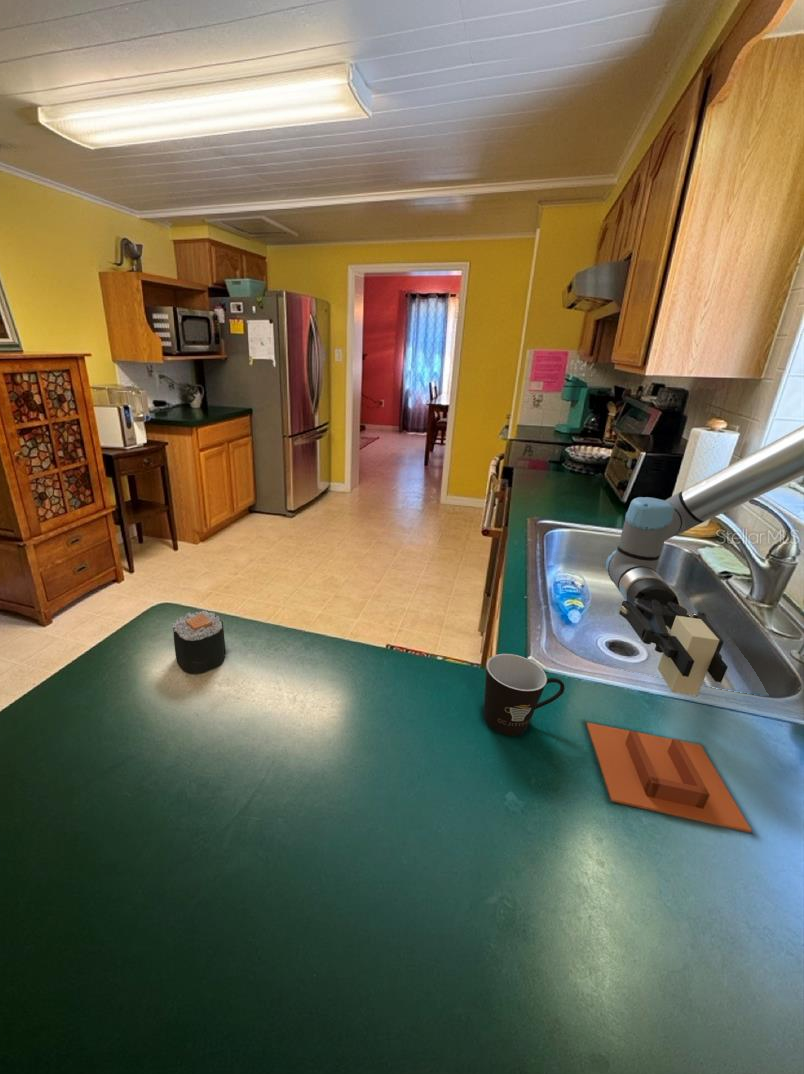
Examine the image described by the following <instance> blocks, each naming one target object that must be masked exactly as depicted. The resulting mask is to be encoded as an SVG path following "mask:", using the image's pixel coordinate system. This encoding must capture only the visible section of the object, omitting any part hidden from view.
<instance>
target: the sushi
mask: <svg viewBox="0 0 804 1074" xmlns="http://www.w3.org/2000/svg"><path fill="white" fill-rule="evenodd" d="M171 627H172V633H173V645H174V653H175V661H176V664H177V666H179V667H180V669H181V670H182V671H183V672H184V673H186V674H189V675H200V674H205V673H207V672H210V671H211V670H214V669H216V668H219V666H221V665H222V664H223V663H224V662H225V656H226V655H227V653H226V652H227V651H226V644H225V643H226V642H225V630H224V629H225V628H224V622H223V620H221V618H220V617H219V614H218V615H215V613H214V612H209V611H206V610H202V611H199V612H198V611H195V613H194V612H192V613H191V612H187V613H185V616H183V615H181V616H180V617H178V619H177V618H176V619H175V621H174V622H173V623H171Z"/></svg>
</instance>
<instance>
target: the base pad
mask: <svg viewBox="0 0 804 1074" xmlns="http://www.w3.org/2000/svg"><path fill="white" fill-rule="evenodd" d="M586 726H587V729H588V733H589V736H590V740H591V742H592V745H593V748H594V752H595V756H596V758H597V762H598V764H599V768H600V771H601V774H602V777H603V780H604V783H605V786H606V791H607V793H608V796H609V799H610V801H611V802H612V803H618V804H622V805H627V806H631V807H635V808H639V809H644V810H648V811H652V812H657V813H661V814H666V815H671V816H675V817H680V818H683V819H689V820H693V821H698V822H702V823H707V824H710V825H714V826H720V827H724V828H728V829H732V830H737V831H742V832H746V833H752V828H751V826H750V825H749V823H748V822H747V820H746V819H745V816H744V815H743V813H742V812H741V810H740V809H739V806H738V805H737V803H736V801H735V799H734V798H733V796H732V795H731V793H730V791H729V790H728V788H727V786H726V785H725V783H724V782H723V780H722V778H721V777H720V776H721V775H720V774H719V773H718V771H717V769H716V767H715V766H714V764H713V763H712V761H711V760H710V758H709V756H708V755H707V753H706V751H705V749H704V748H703V746H702V744H698V743H693V742H688V741H684V740H680V739H677V738H668V737H663V736H659V735H652V734H648V733H643V732H638V731H637V730H627V729H623V728H619V727H618V728H617V727H612V726H608V725H603V724H597V723H592V722H586Z"/></svg>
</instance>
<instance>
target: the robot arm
mask: <svg viewBox="0 0 804 1074" xmlns="http://www.w3.org/2000/svg"><path fill="white" fill-rule="evenodd" d="M803 476H804V425H801V426H800V427H798V428H796V429H794V430H793V431H791V432H789V433H787V434H785V435H783V436H781V437H779V438H778V439H776V440H773V441H772V442H771V443H769V444H767V445H764V446H763V447H761V448H759V449H757V450H756V451H754V452H751V453H750V454H747V455H746V456H744V457H742V458H740V459H739V460H736V461H734V463H731V464H730V465H728V466H726V467H724V468H722V469H720V470H718V471H717V472H714V473H713V474H711V475H708V476H707V477H706V478H704V479H702V480H699V481H698V482H696V483H694V484H692V485H690V486H688V487H687V488H685V489H683V490H681V491H679V492H678V493H676V494H674V495H671V496H670V497H668V498H667V499H661V498H656V497H651V496H650V497H649V496H645V497H643V496H638V497H635V498H633V499H632V500H631V501H630V504H629V507H628V509H627V511H626V512H625V519H624V523H623V527H622V530H621V534H620V537H619V541H618V545H617V548H616V549H615V550H614V551H612V553H610V554H609V555H608V557H607V559H606V560H605V561H606V562H605V568H606V571H607V573H608V574H607V575H608V576H609V579H610V581H611V582H613V584H614V585H615V587H616V589H617V590H618V591H619V592H620V594H621V596H622V597H623V599H624V600H622V601H621V605H620V609H619V612H618V614H619V615H620V616H621V617H622V618H624V619H625V620H626V621H627V622H628V624H629V625H630V626H631V627H632V629H633V630H634V632H635V634H636V635H637V636H638V638H639V639H640V640H641V642H642V643H643V644H646V645H651V644H654V645H655V647H654V652H657V653H660V654H663V653H664V654H665V656H667V657H669V658H671V659H672V661H673V662H674V664H675V665H676V667H677V668H678V670H679V671H680V673H681V674H682V676H686V677H689V674H690V672H691V669H692V666H693V664H694V660H693V659H692V657H691V656H690V655H689V653H688V652H687V651H686V649H685V648H684V647H683V645H682V644H681V643H680V641H679V640H678V639H677V637H676V636H670V639H669V634H670V632H669V630H670V631H671V629H672V626H673V623H674V620H675V617H676V616H683V617H690V618H696V619H701V620H702V621H703V622H704V623H705V624H706V626H707V627H708V628H709V629H710V630H711V631H712V632H713V633H714V635H715V636H716V637H717V638H718V639H719V643H718V646H717V648H716V651H715V653H714V655H713V658H712V660H711V663H710V665H709V668H708V670H707V673H708V674H709V676H710V677H711V678H712V679H713V680H714V682H716V683H722V682H723V680H724V678H725V675H726V672H727V670H728V668H729V667H728V665H727V663H725V662H724V660H723V656H722V654H721V653H720V652H721V649H722V647H723V645H724V643H725V642H724V640H723V638H722V636H720V634H719V633H718V632H717V631H716V629H715V627H713V625H712V624H711V623H710V622H709V620H708V619H707V614H706V613H705V612H702V611H698V612H697V613H690V612H688V610H687V609H686V607H683V606H682V605H680V603H679V599H678V596H677V594H676V593H675V592H674V590H673V589H672V588H671V586H670V585H668V584H667V582H666V581H665V580H664V579H663V578H662V576H660V574H659V573H658V572H657V571H656V569H657V564H658V562H659V559H660V556H661V553H662V550H663V548H664V544H665V541H667V540H669V539H672V538H674V537H675V536H677V535H680V534H683V533H685V532H687V531H689V530H691V529H692V528H695V527H698V526H699V525H701V524H703V523H705V522H707V521H709V520H711V519H713V518H716V517H718V516H720V515H721V514H724V513H726V512H728V511H730V510H732V509H735V508H736V507H738V506H741V505H743V504H745V503H747V502H749V501H752V500H754V499H756V498H758V497H760V496H763V495H765V494H767V493H769V492H771V491H773V490H775V489H777V488H780V487H782V486H783V485H786V484H788V483H790V482H792V481H795V480H796V479H798V478H801V477H803Z"/></svg>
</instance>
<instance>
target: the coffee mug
mask: <svg viewBox="0 0 804 1074" xmlns="http://www.w3.org/2000/svg"><path fill="white" fill-rule="evenodd" d="M550 683H551V684H552V683H556V684H557V685H559V686H560V687H559V690H558V691H557V693H555V694H554V695H553V696H551V697H549V698H547V699H545V700H542V701H540V700H541V697H542V694H543V691H544V689H545V687H546V685H547V684H550ZM484 685H485V686H484V699H483V700H484V702H483V704H484V705H483V718H484V719H483V720H485V723H486V724H487V726H488V727H490V728H491V729H492V730H494V731H495V732H497V733H500V734H502V735H505V736H513V737H515V736H521V735H522V734H524V733H525V732H526V731H527V729H528V726H529V725H530V722H531V721H532V717H533V715H534V713H535V711H536V710H537V709H541V707H544V706H547V705H548V704H550V703H552V702H554V701H556V700H557V699H559V697H561V696H562V695H563V694H564V692H565V683H564V682H563V681H562V680H561V679H559V678H556V677H549V678H548V677H547V673H546V672H545V671H544V670H543V668H542V667H541V666H539V665H538V664H537V663H536V662H534V660H533V661H532V660H531V659H529V658H526V657H524V656H521V655H518V654H513V653H499V654H495V655H492V656H491V657H489V658H488V660H487V662H486V667H485V683H484Z"/></svg>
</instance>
